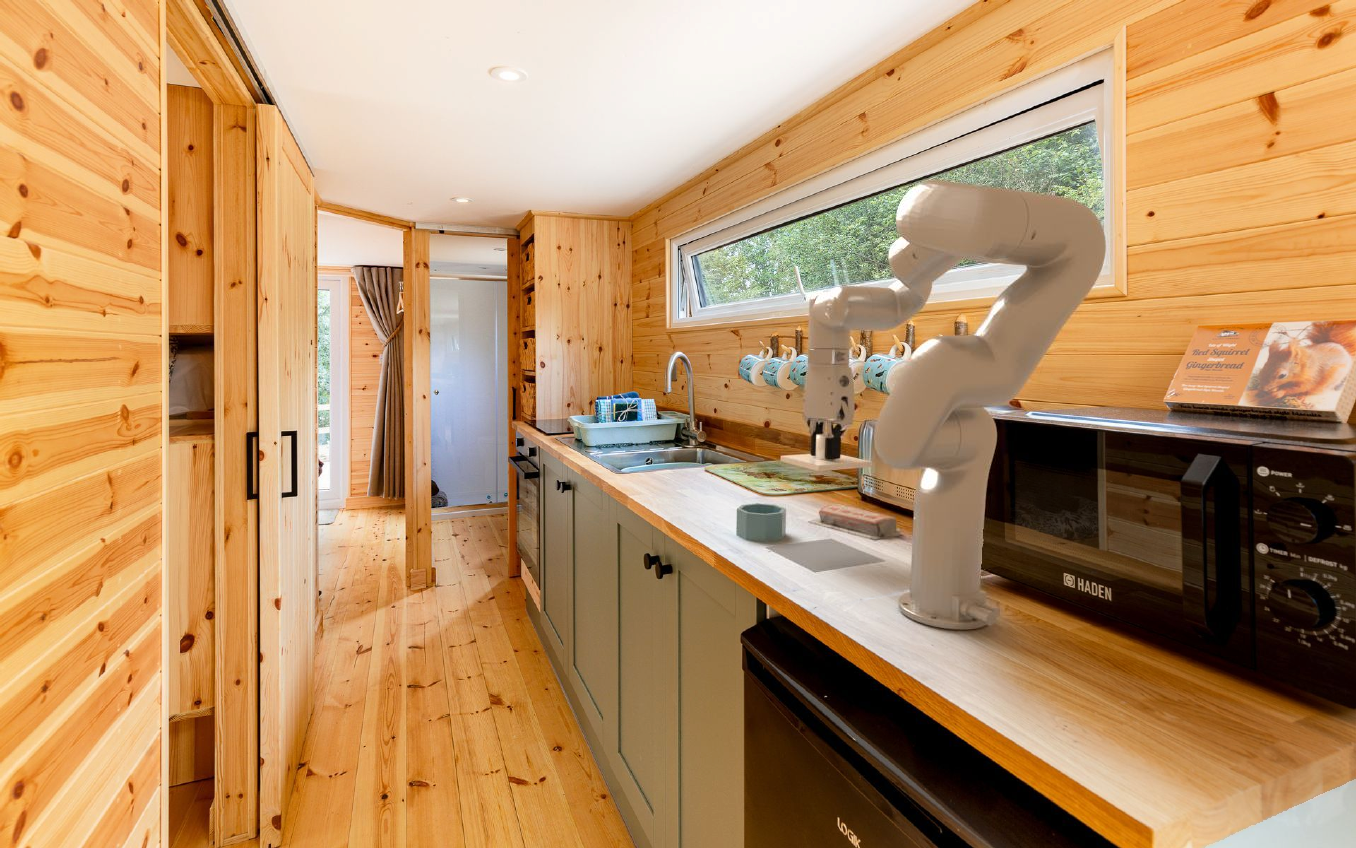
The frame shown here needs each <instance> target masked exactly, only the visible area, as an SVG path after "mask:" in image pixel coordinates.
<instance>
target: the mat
mask: <svg viewBox="0 0 1356 848" xmlns="http://www.w3.org/2000/svg"><path fill="white" fill-rule="evenodd" d="M764 548H765V549H767V550H769V551H771V552H774V554H777V555H780V557H783V558H785V559H788V560H789V561H791V562H793V563H795V564H798V565H799V566H801V567H803V568H805V569H807V570H809V571H811V572H814V573H819V572H824V571H832V570H838V569H844V568H850V567H855V566H856V567H857V566H862V565H869V564H875V563H882V562H886V560H885V559H882V558H880V557H877V556H875V555H872V554H871V553H868V552H865V551H863V550H861V549H858V548H855V547H853V546H851V545H848V544H845V543H843V542H841V541H838V540H836V539H833V538H824V539H818V540H810V541H802V542H795V543H789V544H786V543H785V544H780V545H773V546H766V547H764Z"/></svg>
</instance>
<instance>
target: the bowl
mask: <svg viewBox="0 0 1356 848" xmlns="http://www.w3.org/2000/svg"><path fill="white" fill-rule="evenodd" d="M786 524H787V508H786V507H785V508H784V507H782V506H780V505H776V504H769V503H747V504H741V505H739V506H738V507H737V508H736V536H737V537H739V538H741V539H743V540H745V541H750V542H758V543H759V542H760V543H768V542H776V541H778V542H779V541H782V540H783V539H784V537H785V536H786V528H787V525H786Z"/></svg>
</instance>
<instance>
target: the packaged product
mask: <svg viewBox="0 0 1356 848" xmlns="http://www.w3.org/2000/svg"><path fill="white" fill-rule="evenodd" d="M818 515H819V518H814V519H812V520H808V523H809V524H812V525H815V526H819V527H823V528H827V529H831V530H835V531H838V532H842V533H847V534H849V535H853V536H857V537H860V538H863V539H864V538H865V539H868V540H872V541H879V540H881V539H886V538H890V537H893V538H896V537H899V536H902V531H901V528H897V518H896V517H894V516H889V515H886V514H882V513H878V512H874V511H870V510H865V509H861V508H857V507H853V506H848V505H845V504H844V505H843V504H840V503H833V502H831V503H829V504H827V505H826V506H824V507H821V509H819V511H818ZM898 535H899V536H898ZM895 536H896V537H895Z"/></svg>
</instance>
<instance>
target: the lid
mask: <svg viewBox="0 0 1356 848" xmlns="http://www.w3.org/2000/svg"><path fill="white" fill-rule="evenodd" d="M825 438H828V434H827V433H824V434H816V456H811V453H807V454H788V455H780V462H783V463H785V464H790V465H793V466H798V467H801V468H805V469H809V470H812V471H816V472H823V471H824V472H825V471H827V472H828V471H837V470H838V471H839V470H850V469H851V470H852V469H861V468H873V461H872V460H867V459H862V458H857V457H853V456H850V455H845V454H841V456H840V458H839V459H825Z"/></svg>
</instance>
